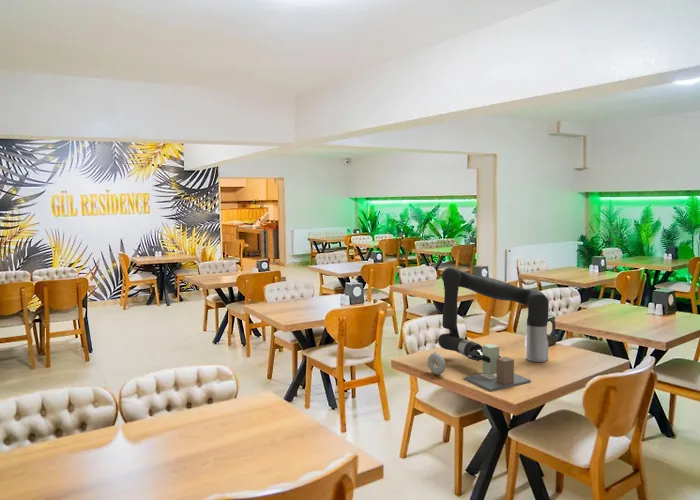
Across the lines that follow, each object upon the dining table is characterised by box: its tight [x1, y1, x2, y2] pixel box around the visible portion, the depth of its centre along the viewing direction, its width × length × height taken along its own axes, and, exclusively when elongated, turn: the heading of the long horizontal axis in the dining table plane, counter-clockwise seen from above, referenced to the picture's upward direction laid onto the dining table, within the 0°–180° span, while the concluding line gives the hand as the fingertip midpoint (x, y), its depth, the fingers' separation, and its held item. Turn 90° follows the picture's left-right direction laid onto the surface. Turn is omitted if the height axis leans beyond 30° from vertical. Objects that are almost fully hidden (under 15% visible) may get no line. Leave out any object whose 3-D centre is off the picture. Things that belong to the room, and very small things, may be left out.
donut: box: [427, 352, 446, 376], centre depth 241 cm, size 10×4×10 cm, turn 34°
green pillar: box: [481, 343, 500, 375], centre depth 234 cm, size 5×5×12 cm
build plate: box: [463, 356, 532, 392], centre depth 231 cm, size 22×17×11 cm
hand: (494, 359), depth 232 cm, fingers closed on green pillar, 5 cm apart
